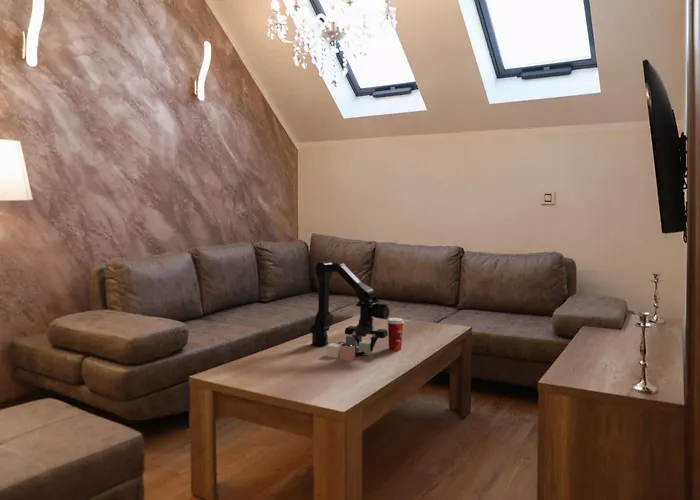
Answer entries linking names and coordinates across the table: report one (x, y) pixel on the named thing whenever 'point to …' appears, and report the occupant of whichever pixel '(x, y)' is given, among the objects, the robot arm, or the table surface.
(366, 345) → the sage cube
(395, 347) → the paper cup
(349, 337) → the charcoal cube
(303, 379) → the table surface
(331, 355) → the cream cube
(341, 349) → the terracotta cube
